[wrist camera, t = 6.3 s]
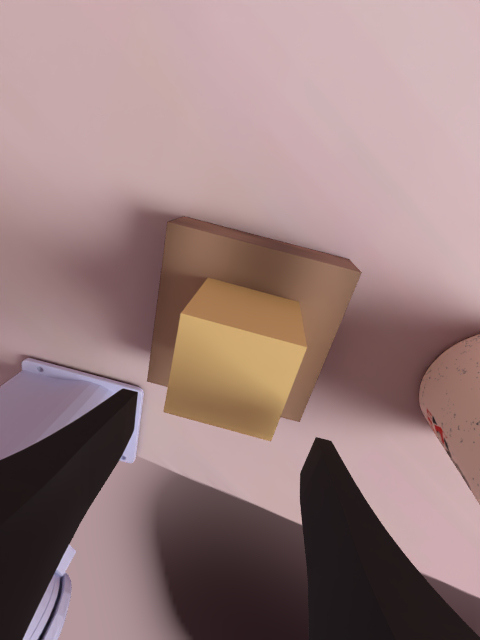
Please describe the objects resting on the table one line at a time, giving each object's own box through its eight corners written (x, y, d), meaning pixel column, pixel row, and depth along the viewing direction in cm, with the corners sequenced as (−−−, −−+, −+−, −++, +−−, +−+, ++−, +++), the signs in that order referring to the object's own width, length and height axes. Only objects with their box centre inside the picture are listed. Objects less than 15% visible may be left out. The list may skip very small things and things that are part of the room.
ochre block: (191, 355, 18) (163, 412, 14) (207, 277, 16) (180, 313, 12) (272, 377, 18) (270, 441, 14) (299, 302, 16) (307, 347, 12)
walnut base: (163, 357, 22) (147, 381, 20) (184, 216, 18) (167, 221, 15) (296, 392, 22) (299, 422, 19) (348, 259, 18) (361, 272, 15)
